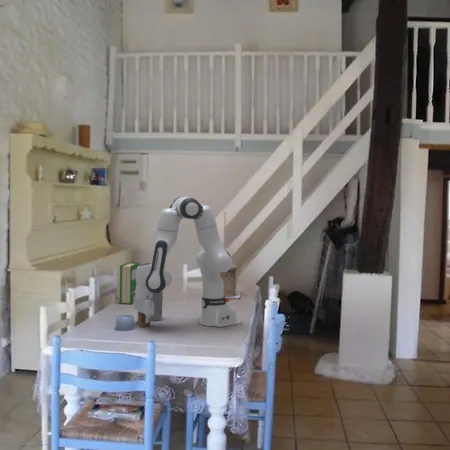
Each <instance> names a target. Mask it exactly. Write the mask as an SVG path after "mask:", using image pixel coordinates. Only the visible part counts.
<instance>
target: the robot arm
mask: <svg viewBox="0 0 450 450" xmlns="http://www.w3.org/2000/svg"><path fill="white" fill-rule="evenodd" d="M183 219H187V220H188V219H189V220H193V222H194V226H195V231H196V235H197V240H198V243H199V244H200V246H201V247H202V249H203V250H201V251H199V252H198V253H197V256H196V257H195V258H196V260H195V261H196V263H197V265H198V268H199V269H200V274H201V279H202V296H201V315H200V318H199V322H198V323H199V324H200V325H203V326H207V327H218V328H223V327H228V326H234V325H240V324H241V323H242V321H241V320H240V319H238V316H237V313H236V311H235V309H233V308H232V307H231V306H230V305H228V304H227V303H230V301H231V299H229V298H225V297H223V293H224V283H223V280H222V279H221V276H220V273H222V272H227V271H228V270H230V268H231V266H232V264H233V259H232V257H230V256H231V255H230V256H229V255H228V254H227V252H228V251H227V250H226V248H225V247H224V245H223V242H222V241H221V237H220V234H219V231H218V227H217V222H216V218H215V215H214V213H213V210H212V208H211V207H210V206H209V205H206V204H201V203H200V202H199V201H198V200H197V199H195V198H193V197H190V196H178V197H177V198H175V199H174V200H173V201H172V204H171V205H170V206H169V207H167V208H163V209H162V210H161V211H160V213H159V217H158V220H157V224H156V226H157V227H156V232H155V241H154V242H155V243H154V251H153V255H152V261H151V262H152V263H150V262H148V263H147V262H146V263H142V264H139V266H138V267H137V271H136V283H137V285H136V291H134V292H133V296H134V303H133V308H134V310H136V311H137V315H138V314H140V313H143V314H145V316H146V318H145V323H149V319H150V316H153V315H154V302H153V301H152V299H151V298H153V293H160V292H161V291H162V292H163V291H164V290H165V289H166V288H168V287H169V286H170V285H171V283H172V276H171V274H170V272H169V271H167V270H165V267H166V266H165V265H166V261H167V256H168V254H169V252H170V251H171V249H172V248H173V247H175V244H176V242H177V240H178V236H179V228H180V227H179V226H180V223H181V221H182V220H183ZM226 251H227V252H226Z"/></svg>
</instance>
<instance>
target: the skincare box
mask: <svg viewBox="0 0 450 450" xmlns="http://www.w3.org/2000/svg"><path fill="white" fill-rule="evenodd" d="M163 293H164V292H163V291H161V292H160V293H153V298H151V299H152V301H153V302H154V315H153V316H150V322H151V321H162V320H163V301H164V300H163V297H164V295H163Z"/></svg>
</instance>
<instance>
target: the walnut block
mask: <svg viewBox="0 0 450 450" xmlns="http://www.w3.org/2000/svg"><path fill="white" fill-rule="evenodd" d="M145 318H146V316H145V314H143V313H140V314H138V313H137V326H138V325H139V326H138V327H140V328H144V327H151V321H150V319H149V323H145Z"/></svg>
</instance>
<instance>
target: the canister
mask: <svg viewBox="0 0 450 450" xmlns="http://www.w3.org/2000/svg"><path fill="white" fill-rule="evenodd" d="M134 321H135V316H134V315H130V314H121V315H116V316H115V327H114V330H116V331H122V332H124V331H125V332H126V331H127V332H128V330H129V331H133V330H135V322H134Z"/></svg>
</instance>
